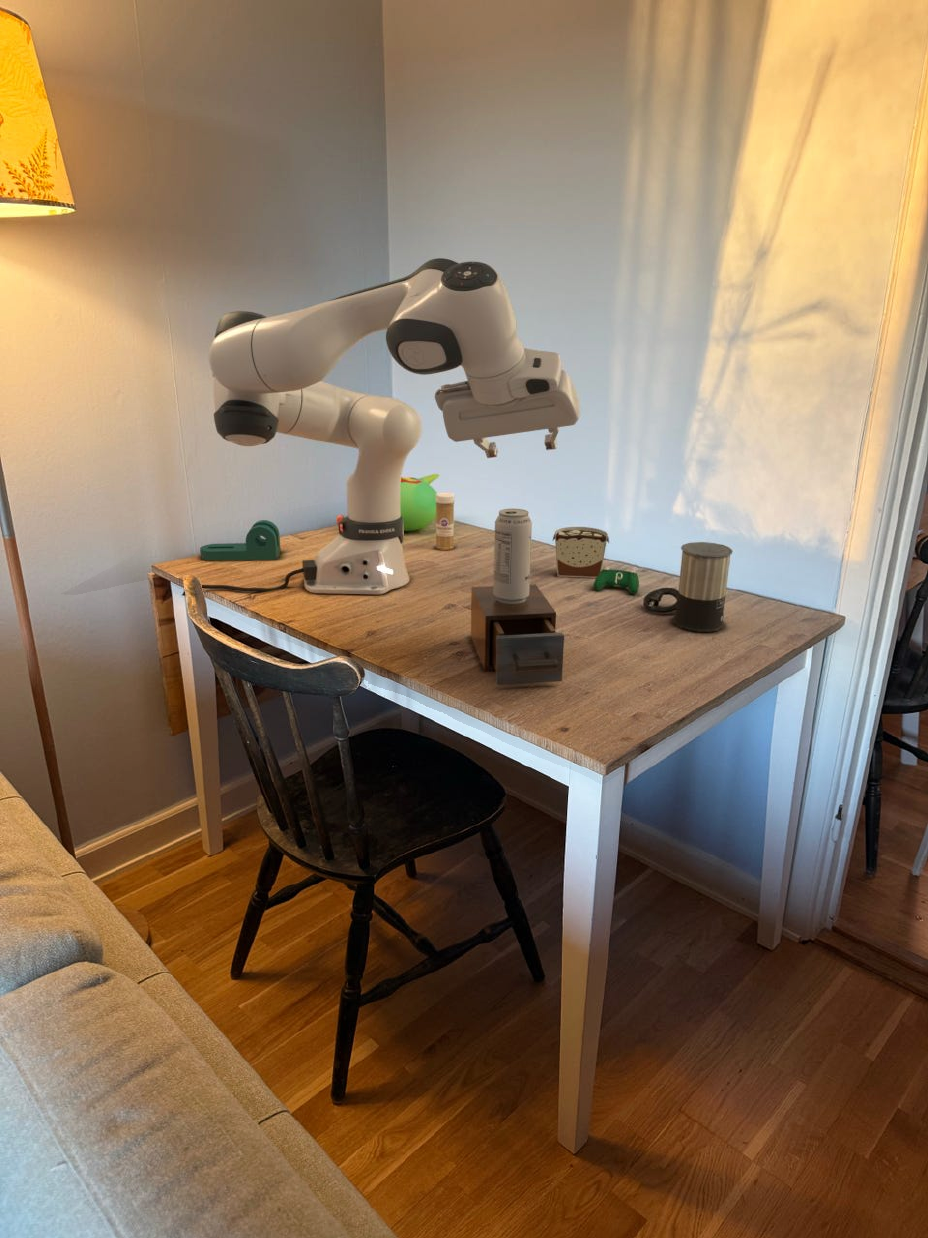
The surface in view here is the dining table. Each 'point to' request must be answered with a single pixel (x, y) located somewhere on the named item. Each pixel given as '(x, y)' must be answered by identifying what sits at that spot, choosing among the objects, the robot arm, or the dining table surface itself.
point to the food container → (580, 551)
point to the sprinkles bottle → (444, 521)
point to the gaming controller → (617, 579)
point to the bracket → (247, 545)
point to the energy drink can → (512, 556)
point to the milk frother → (697, 588)
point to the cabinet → (502, 616)
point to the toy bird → (417, 502)
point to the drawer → (526, 651)
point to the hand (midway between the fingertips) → (522, 451)
